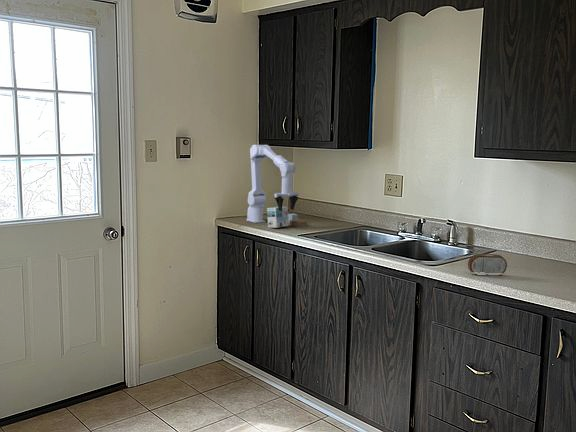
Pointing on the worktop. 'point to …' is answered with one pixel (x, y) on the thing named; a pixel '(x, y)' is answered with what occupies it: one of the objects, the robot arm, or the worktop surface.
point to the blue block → (292, 217)
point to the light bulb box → (277, 217)
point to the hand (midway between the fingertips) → (286, 210)
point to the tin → (487, 263)
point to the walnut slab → (298, 222)
